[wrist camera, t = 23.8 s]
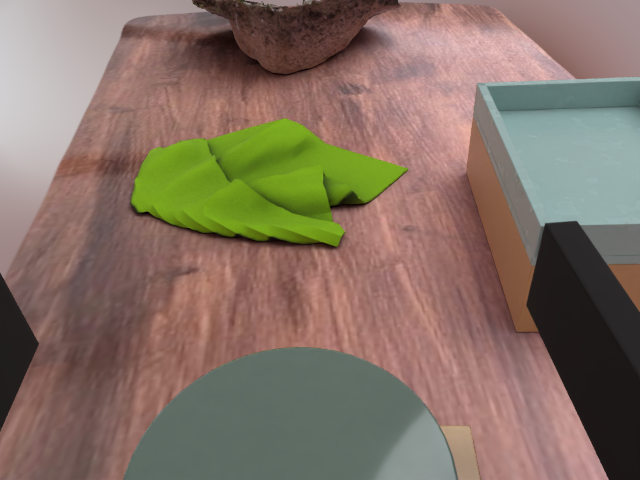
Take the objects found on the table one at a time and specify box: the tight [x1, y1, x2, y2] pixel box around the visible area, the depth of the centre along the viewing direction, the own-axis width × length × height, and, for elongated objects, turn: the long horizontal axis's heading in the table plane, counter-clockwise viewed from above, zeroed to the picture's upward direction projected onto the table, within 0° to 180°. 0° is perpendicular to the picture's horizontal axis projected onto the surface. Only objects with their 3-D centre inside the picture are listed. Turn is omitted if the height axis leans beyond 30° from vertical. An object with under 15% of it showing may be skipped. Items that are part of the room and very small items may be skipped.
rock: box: [192, 0, 401, 74], centre depth 67 cm, size 26×22×10 cm
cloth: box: [130, 118, 408, 247], centre depth 46 cm, size 20×22×2 cm
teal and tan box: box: [466, 77, 640, 332], centre depth 36 cm, size 17×12×8 cm
